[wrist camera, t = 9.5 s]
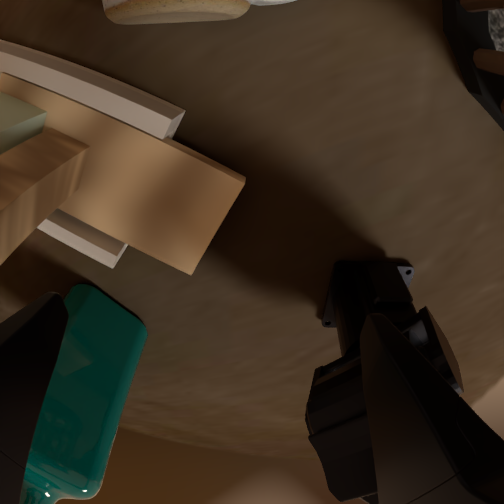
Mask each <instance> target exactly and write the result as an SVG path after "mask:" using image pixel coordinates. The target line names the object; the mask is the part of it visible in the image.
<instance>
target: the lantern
mask: <svg viewBox="0 0 504 504" xmlns="http://www.w3.org/2000/svg"><path fill="white" fill-rule="evenodd" d="M442 4H443V31H444V33H445V35H446V37H447V39H448V41H449V44H450V46H451V48H452V50H453V53H454V55H455V57H456V60H457V62H458V65H459V67H460V70H461V72H462V75H463V78H464V80H465V83H466V86H467V88H468V91H469V93H470V94H471V95H472V96H473V97H474V98H475V99H476V100H477V101H478V102H479V103H480V104H481V105H482V106H483V107H484V109H485V110H486V111H487V112H488V113H489V114H490V115H491V116H492V118H493V119H494V120H495V121H496V122H497V123H498V125H499V126H500V127H501V128H502V129H503V131H504V0H442Z"/></svg>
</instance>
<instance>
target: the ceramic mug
mask: <svg viewBox="0 0 504 504" xmlns="http://www.w3.org/2000/svg"><path fill="white" fill-rule="evenodd" d="M293 1H296V0H102V2H103V7H104V12H105V14H106V16H107V18H108V19H110V20H111V21H112V22H114V23H116V24H125V25H130V24H155V23H178V22H197V21H218V20H230V19H235V18H238V17H240V16H241V15H243V14H244V13H246V12H247V10H248V9H249V8H250V5H251V4H254V5H276V4H283V3H289V2H293Z"/></svg>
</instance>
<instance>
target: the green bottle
mask: <svg viewBox="0 0 504 504" xmlns="http://www.w3.org/2000/svg"><path fill="white" fill-rule="evenodd" d="M63 301H64V303H65V306H66V308H67V310H68V314H69V319H68V323H67V326H66V330H65V333H64V337H63V340H62V344H61V348H60V352H59V355H58V359H57V362H56V365H55V368H54V371H53V374H52V377H51V380H50V383H49V386H48V389H47V392H46V395H45V398H44V401H43V404H42V408H41V411H40V414H39V418H38V421H37V425H36V429H35V432H34V436H33V440H32V444H31V448H30V452H29V456H28V461H27V465H26V468H25V469H26V470H25V475H24V480H23V485H22V491H21V497H20V503H19V504H55V503H56V502H57V501H58V500H59V499H62V498H67V499H90V498H92V497H94V496H95V495H96V494H97V493H98V491H99V490H100V488H101V485H102V482H103V478H104V474H105V470H106V467H107V463H108V459H109V456H110V452H111V448H112V445H113V442H114V438H115V435H116V431H117V428H118V425H119V422H120V418H121V415H122V412H123V409H124V405H125V402H126V399H127V396H128V393H129V390H130V387H131V384H132V381H133V378H134V375H135V372H136V369H137V366H138V363H139V360H140V357H141V354H142V351H143V348H144V346H145V343H146V340H147V336H148V333H147V330H146V327H145V325H144V324H143V323H142V322H141V320H140V319H138V318H137V317H135V316H134V315H132V314H131V313H130V312H128V311H127V310H125V309H124V308H123V307H121V306H120V305H119V304H117V303H116V302H114V301H113V300H112V299H110V298H109V297H108V296H106V295H105V294H104V293H102V292H101V291H100V290H98V289H97V288H96V287H93V286H91V285H89V284H78V285H75V286H73V287H72V288H71V290H70V291H69V293H68V294H67V296H66V297H65V299H64V300H63Z"/></svg>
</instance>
